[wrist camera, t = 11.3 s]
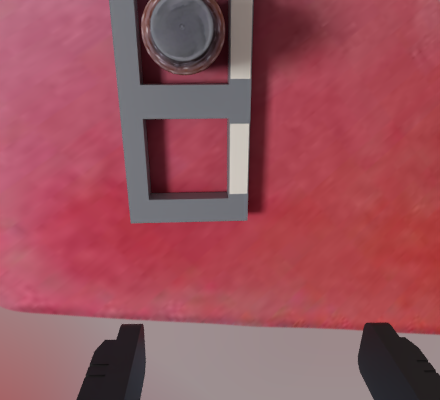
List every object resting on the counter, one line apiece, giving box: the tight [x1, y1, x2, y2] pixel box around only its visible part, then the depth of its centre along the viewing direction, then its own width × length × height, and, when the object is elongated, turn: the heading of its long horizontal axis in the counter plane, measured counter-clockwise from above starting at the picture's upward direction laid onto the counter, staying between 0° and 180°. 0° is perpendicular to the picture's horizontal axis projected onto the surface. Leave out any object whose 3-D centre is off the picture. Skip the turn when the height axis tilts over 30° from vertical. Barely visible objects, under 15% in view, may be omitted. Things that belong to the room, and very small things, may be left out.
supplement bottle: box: [141, 0, 225, 75], centre depth 28 cm, size 6×6×11 cm
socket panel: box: [109, 0, 254, 223], centre depth 34 cm, size 12×24×2 cm, turn 0°
